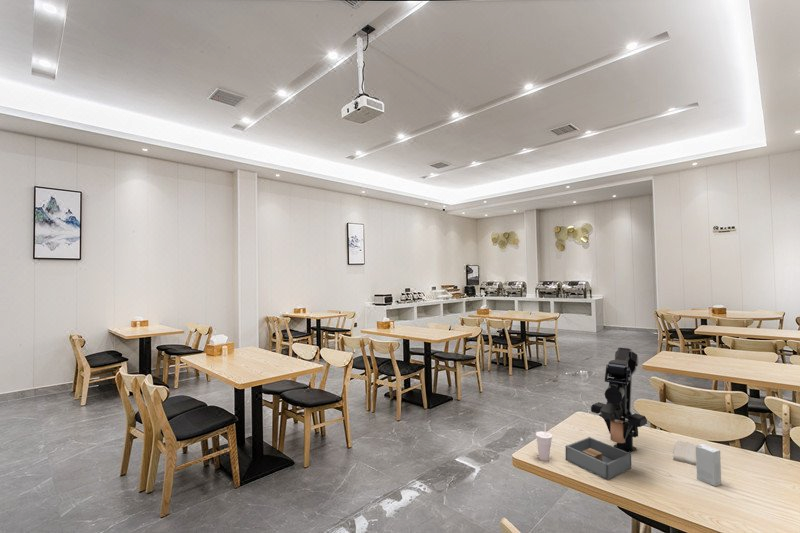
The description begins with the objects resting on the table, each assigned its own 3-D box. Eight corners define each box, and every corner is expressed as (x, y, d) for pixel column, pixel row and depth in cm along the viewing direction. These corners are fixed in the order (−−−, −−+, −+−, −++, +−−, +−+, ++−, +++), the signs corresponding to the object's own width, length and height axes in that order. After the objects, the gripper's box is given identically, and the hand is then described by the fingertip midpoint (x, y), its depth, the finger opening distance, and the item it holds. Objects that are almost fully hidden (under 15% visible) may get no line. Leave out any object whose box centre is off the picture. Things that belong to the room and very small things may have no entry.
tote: (589, 450, 168) (589, 436, 168) (631, 468, 153) (631, 453, 153) (565, 459, 160) (565, 445, 160) (607, 480, 145) (607, 464, 145)
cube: (590, 460, 158) (590, 447, 158) (602, 466, 154) (602, 453, 154) (582, 464, 156) (582, 451, 155) (594, 469, 151) (594, 456, 151)
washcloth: (711, 453, 166) (711, 445, 166) (710, 471, 152) (710, 463, 152) (676, 445, 173) (676, 437, 173) (672, 461, 159) (672, 453, 159)
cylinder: (614, 436, 158) (614, 418, 157) (627, 440, 153) (627, 422, 153) (607, 439, 155) (607, 421, 155) (620, 444, 151) (620, 425, 151)
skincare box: (721, 484, 142) (721, 449, 142) (714, 487, 140) (714, 452, 140) (702, 475, 148) (702, 442, 147) (695, 478, 146) (695, 445, 145)
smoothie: (553, 463, 158) (553, 427, 157) (536, 461, 159) (536, 426, 159) (551, 455, 164) (550, 421, 164) (534, 454, 165) (534, 420, 165)
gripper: (582, 393, 157) (582, 432, 158) (632, 407, 142) (632, 451, 142) (598, 387, 163) (598, 425, 164) (647, 401, 148) (647, 443, 148)
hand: (617, 436), depth 154 cm, fingers closed on cylinder, 5 cm apart
